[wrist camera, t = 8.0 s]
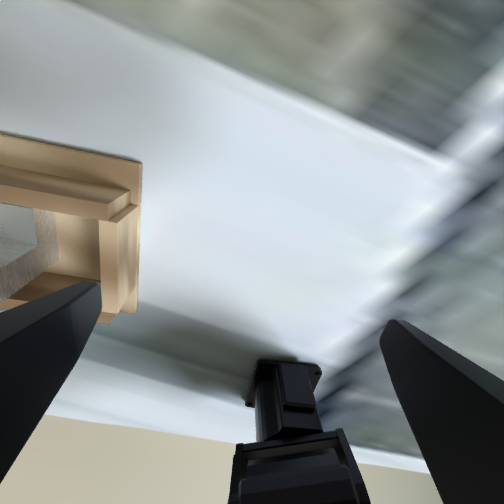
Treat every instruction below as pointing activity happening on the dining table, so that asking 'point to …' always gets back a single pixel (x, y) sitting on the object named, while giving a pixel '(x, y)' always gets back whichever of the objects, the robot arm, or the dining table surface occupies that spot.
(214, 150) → the dining table surface
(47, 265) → the bracket
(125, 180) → the light wood shallow box
